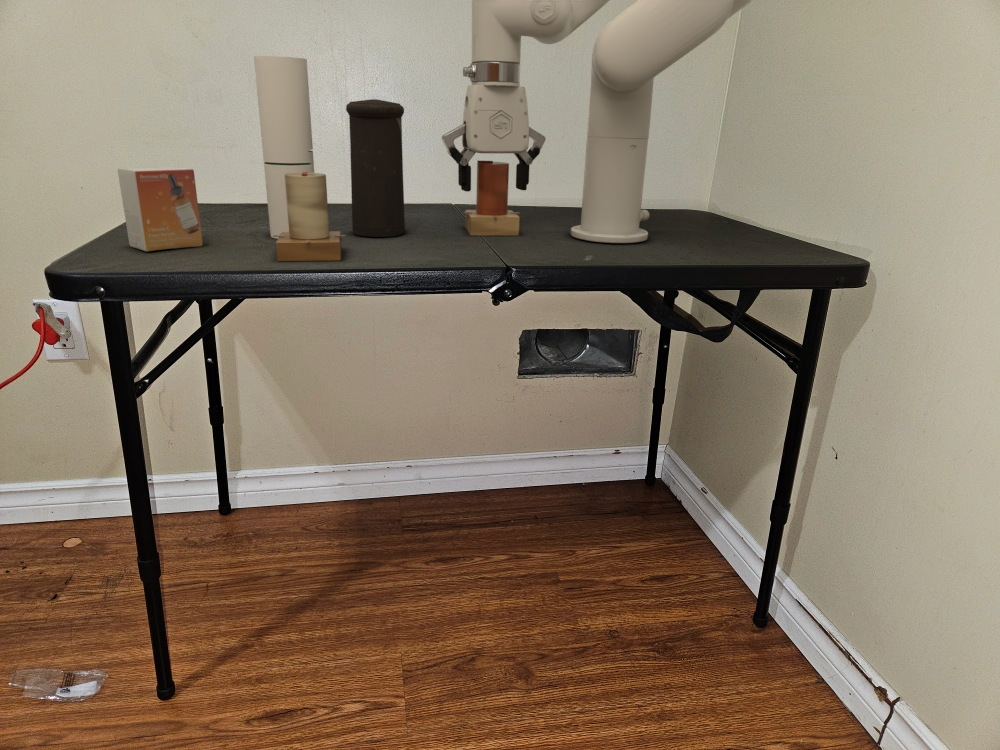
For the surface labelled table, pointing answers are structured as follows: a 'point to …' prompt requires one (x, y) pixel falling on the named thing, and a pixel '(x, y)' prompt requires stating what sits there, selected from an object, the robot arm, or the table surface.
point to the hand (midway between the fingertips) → (493, 190)
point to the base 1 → (309, 248)
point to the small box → (160, 207)
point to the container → (376, 168)
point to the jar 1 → (307, 205)
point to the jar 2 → (492, 188)
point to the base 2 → (492, 224)
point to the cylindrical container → (283, 129)
